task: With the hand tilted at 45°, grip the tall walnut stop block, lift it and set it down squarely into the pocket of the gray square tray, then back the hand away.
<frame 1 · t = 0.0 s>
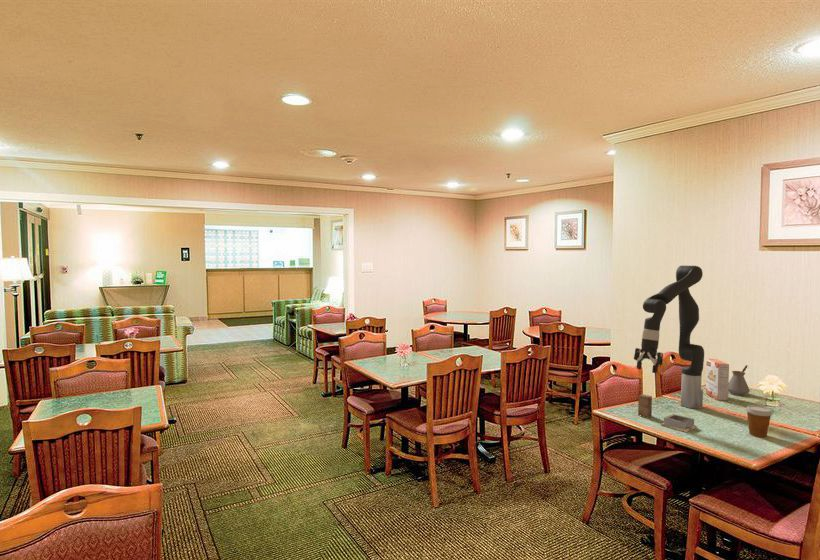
hand: (646, 371, 238), 22 cm above the table, tool pointing down, fingers open, 8 cm apart
disposable coffee cup: (757, 435, 213), on the table
gray square tray: (678, 426, 223), on the table
coffee pot: (740, 392, 283), on the table
cracker box: (716, 397, 272), on the table
stop block: (644, 415, 238), on the table
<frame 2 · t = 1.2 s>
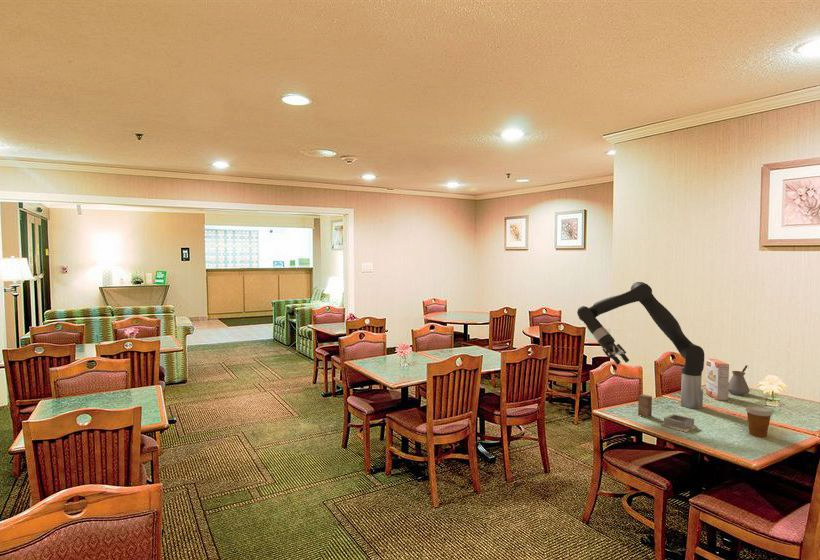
hand: (623, 362, 247), 25 cm above the table, tool tilted 45°, fingers open, 8 cm apart
nothing on the table moved.
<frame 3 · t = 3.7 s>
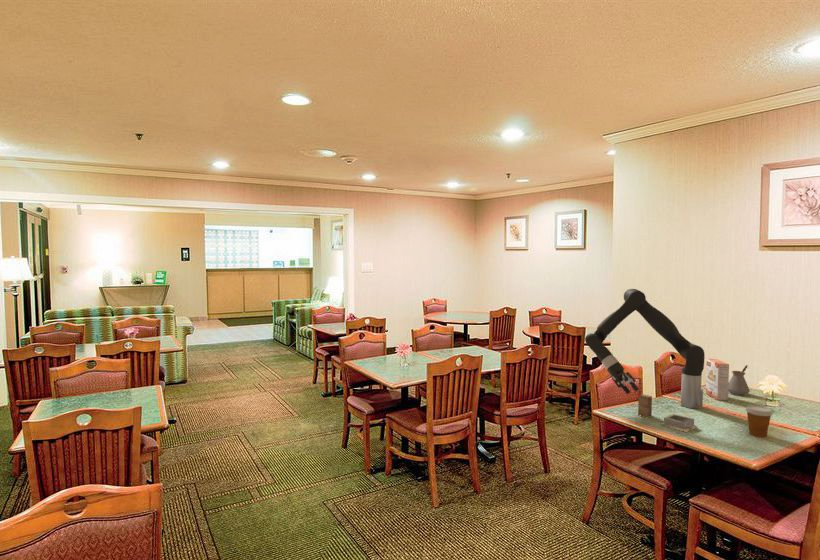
hand: (633, 391, 243), 11 cm above the table, tool tilted 45°, fingers open, 8 cm apart
nothing on the table moved.
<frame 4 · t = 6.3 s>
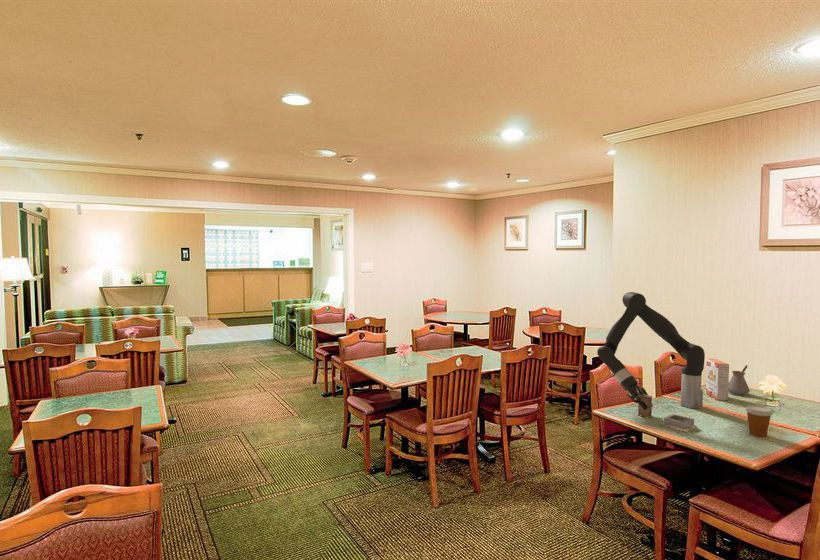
hand: (648, 408, 237), 4 cm above the table, tool tilted 45°, fingers closed on stop block, 4 cm apart
stop block: (644, 415, 239), on the table, touching gripper
everything else where it was.
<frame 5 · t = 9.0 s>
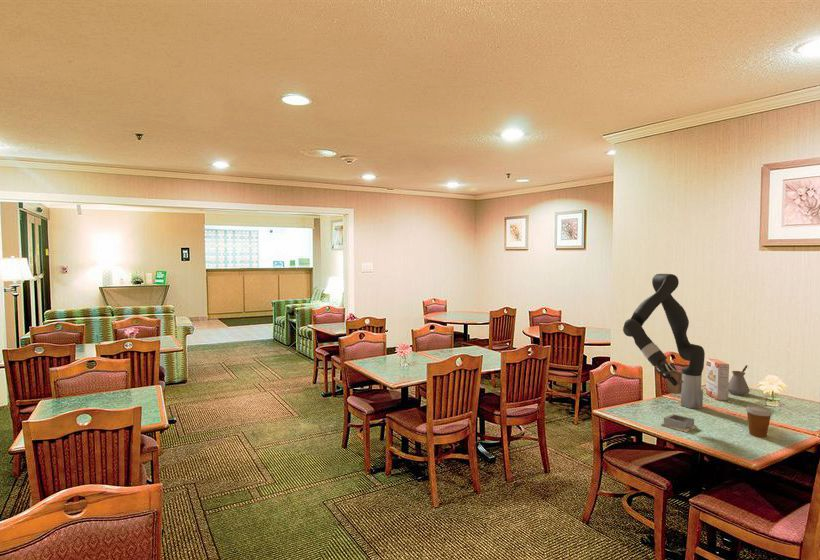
hand: (678, 383, 223), 20 cm above the table, tool tilted 45°, fingers closed on stop block, 4 cm apart
stop block: (674, 392, 225), point 16 cm above the table, touching gripper
everything else where it was.
when the fingers open (7 cm above the table, at t = 12.2 s): stop block drops 1 cm, resting on gray square tray.
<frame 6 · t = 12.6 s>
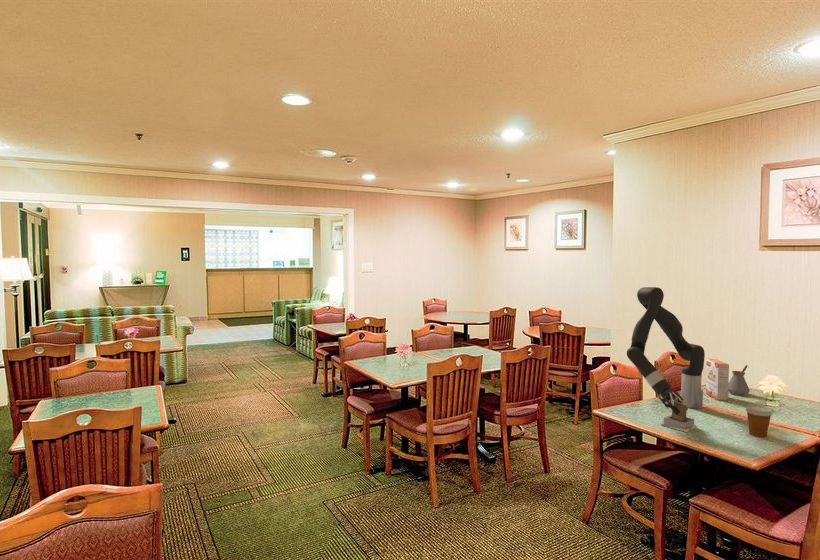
hand: (682, 412, 222), 7 cm above the table, tool tilted 45°, fingers open, 8 cm apart
stop block: (678, 424, 223), point 1 cm above the table, touching gray square tray
everything else where it was.
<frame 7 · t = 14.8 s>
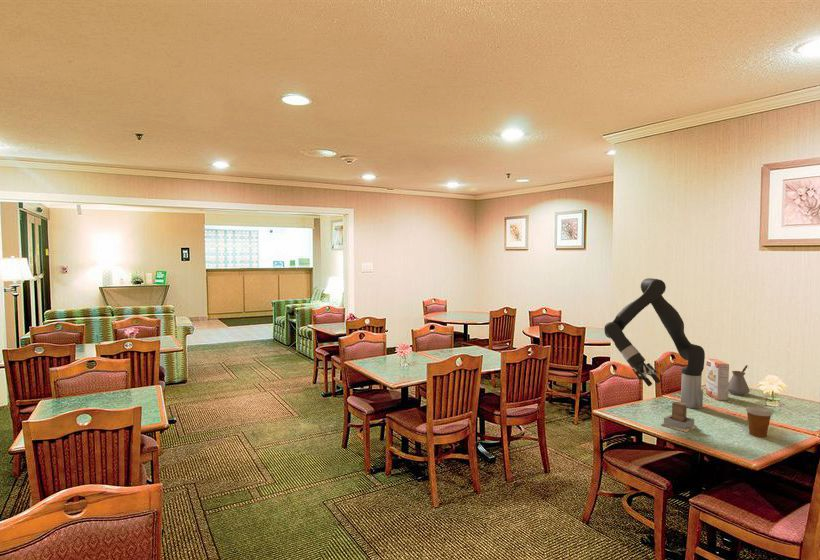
hand: (654, 383, 232), 17 cm above the table, tool tilted 45°, fingers open, 8 cm apart
nothing on the table moved.
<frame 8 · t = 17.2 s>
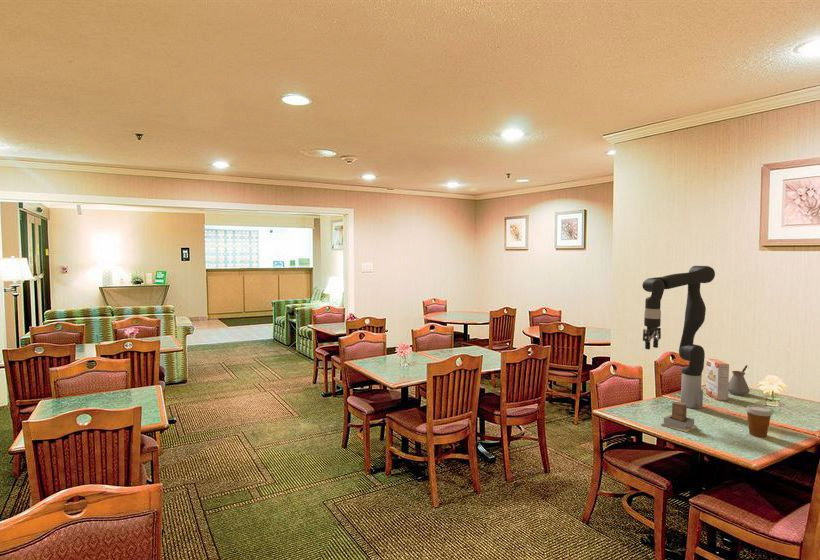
hand: (651, 348, 247), 32 cm above the table, tool pointing down, fingers open, 8 cm apart
nothing on the table moved.
at the end: stop block 0.1 cm off-centre on the gray square tray, point 0.8 cm above the gray square tray's base; stop block tilted 0°; the gripper is holding nothing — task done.
